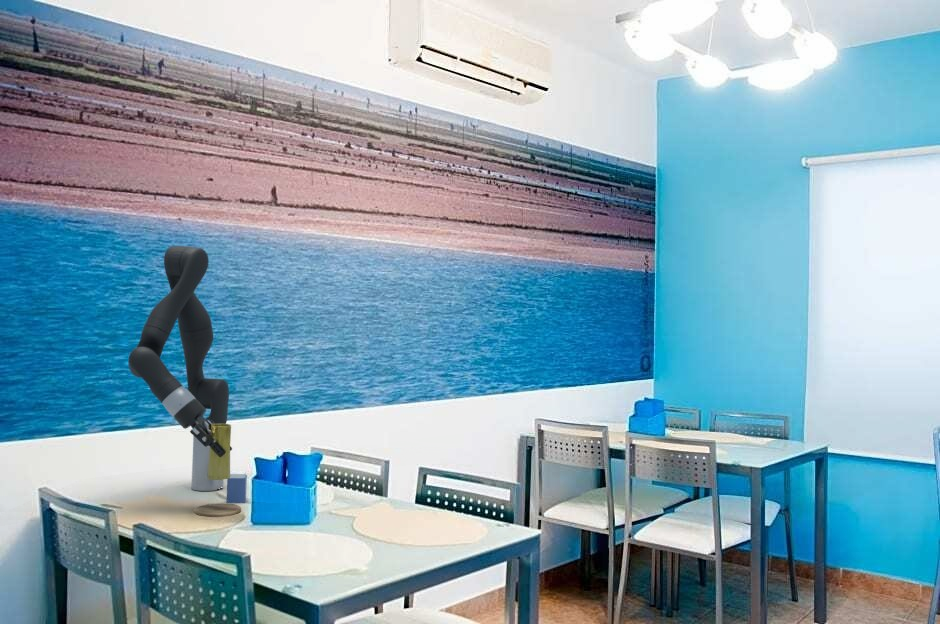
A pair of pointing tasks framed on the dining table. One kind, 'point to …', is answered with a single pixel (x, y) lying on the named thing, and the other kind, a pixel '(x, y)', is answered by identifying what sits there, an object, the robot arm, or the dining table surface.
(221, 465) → the vase
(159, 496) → the dining table surface
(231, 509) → the disc
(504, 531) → the dining table surface
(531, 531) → the dining table surface
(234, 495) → the slate blue block
